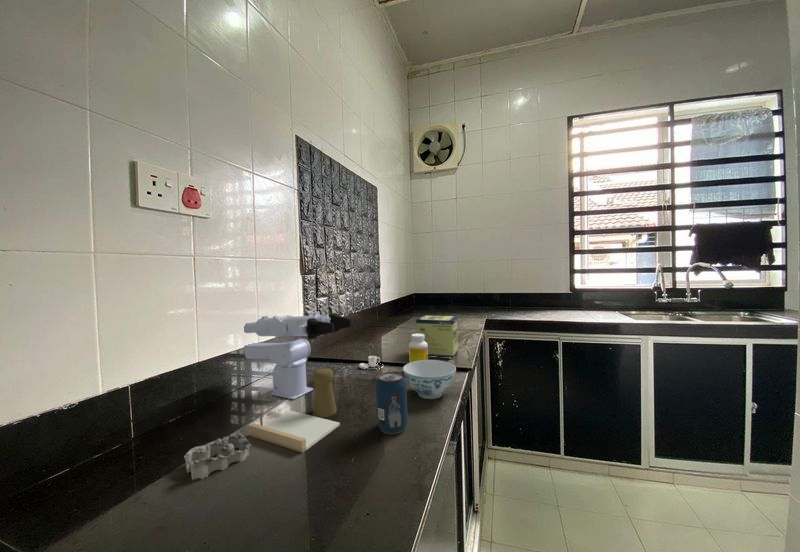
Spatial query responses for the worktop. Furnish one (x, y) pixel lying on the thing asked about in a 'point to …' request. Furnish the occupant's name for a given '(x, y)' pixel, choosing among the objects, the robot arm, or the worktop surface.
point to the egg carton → (224, 448)
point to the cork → (323, 393)
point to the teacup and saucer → (370, 362)
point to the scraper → (294, 430)
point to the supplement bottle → (418, 348)
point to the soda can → (391, 402)
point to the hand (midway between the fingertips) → (342, 325)
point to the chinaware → (429, 377)
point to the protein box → (439, 334)
